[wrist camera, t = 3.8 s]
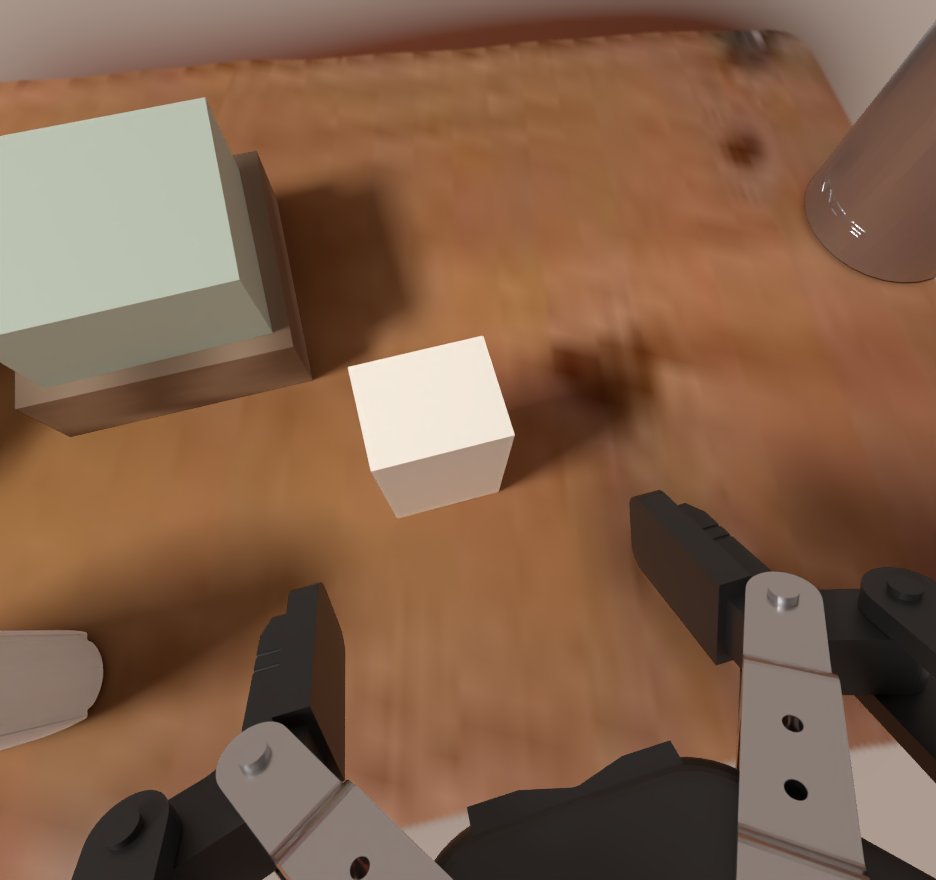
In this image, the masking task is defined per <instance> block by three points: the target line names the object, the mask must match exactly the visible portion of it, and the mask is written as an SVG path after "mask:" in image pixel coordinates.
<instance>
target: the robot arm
mask: <svg viewBox="0 0 936 880" xmlns="http://www.w3.org/2000/svg"><path fill="white" fill-rule="evenodd" d="M805 210H806V215H807V219H808V221H809V224H810V226H811V228H812V230H813V232H814V234H815V235H816V236H817V238H818V239H819V240H820V242H821V243H822V244H823V246H824V247H825V248H827V249H828V250H829V251H830V252H831V253H832V254H833V255H834V256H835V257H836V258H838V259H839V260H841V261H842V262H844V263H845V264H847V265H848V266H849V267H851V268H853V269H855V270H858V271H860V272H862V273H864V274H866V275H869V276H872V277H876V278H879V279H882V280H887V281H895V282H919V281H923V280H927V279H931V278H934V277H936V21H935V22H934V23H933V25H932V26H931V27H930V28H929V30H928V31H927V32H926V34H925V35H924V36H923V37H922V39H921V40H920V41H919V42H918V44H917V45H916V46H915V48H914V49H913V50H912V51H911V53H910V54H909V55H908V57H907V58H906V59H905V60H904V62H903V63H902V64H901V65H900V67H899V68H898V69H897V71H896V72H895V73H894V74H893V76H892V77H891V78H890V80H889V81H888V82H887V83H886V85H885V86H884V87H883V88H882V90H881V91H880V92H879V94H878V95H877V96H876V97H875V99H874V100H873V101H872V103H871V104H870V105H869V106H868V108H867V109H866V110H865V112H864V113H863V114H862V115H861V117H860V118H859V119H858V120H857V122H856V123H855V124H854V125H853V127H852V128H851V129H850V131H849V132H848V133H847V134H846V136H845V137H844V138H843V140H842V141H841V142H840V143H839V145H838V146H837V147H836V149H835V150H834V151H833V152H832V154H831V155H830V156H829V158H828V159H827V160H826V162H825V163H824V164H823V165H822V167H821V168H820V169H819V171H818V172H817V173H816V175H815V176H814V177H813V178H812V180H811V181H810V183H809V185H808V188H807V191H806V194H805ZM630 523H631V542H632V550H633V553H634V557H635V559H636V561H637V563H638V565H639V567H640V568H641V570H642V571H643V572H644V574H645V575H646V576H647V578H648V579H649V580H650V581H651V583H652V584H653V585H654V586H655V588H656V589H657V590H658V592H659V593H660V594H661V595H662V597H663V598H664V599H665V601H666V602H667V603H668V604H669V606H670V607H671V608H672V610H673V611H674V612H675V613H676V615H677V616H678V617H679V618H680V620H681V621H682V622H683V624H684V625H685V626H686V627H687V629H688V630H689V631H690V633H691V634H692V635H693V636H694V638H695V639H696V640H697V641H698V643H699V644H700V645H701V647H702V648H703V649H704V650H705V652H706V653H707V654H708V656H709V657H710V658H711V659H712V661H713V662H714V663H715V665H719V664H722V663H725V662H728V661H731V660H734V661H735V662H736V664H737V665H738V666H739V667H740V678H739V702H738V726H737V749H736V768H733V767H731V766H729V765H726V764H723V763H720V762H716V761H713V760H708V759H703V758H694V757H679V755H678V753H677V751H676V750H675V748H674V746H673V745H672V743H671V741H667V742H664V743H661V744H658V745H655V746H652V747H649V748H646V749H643V750H640V751H636V752H633V753H630V754H627V755H624V756H622V757H620V758H619V759H617V760H616V761H614V762H613V763H611V764H610V765H608V766H607V767H605V768H604V769H603V770H601V771H600V772H598V773H597V774H595V775H594V776H592V777H591V778H589V779H588V780H586V781H585V782H584V783H582V784H581V785H579V786H576V787H573V788H556V789H535V790H518V791H515V792H512V793H509V794H506V795H503V796H500V797H497V798H493V799H490V800H487V801H484V802H481V803H478V804H475V805H472V806H469V807H467V810H468V815H469V820H470V826H469V827H468V828H466V829H465V830H463V831H462V832H461V833H459V834H458V835H457V836H456V837H455V838H454V839H453V840H451V842H449V844H448V845H447V846H446V847H445V848H444V849H443V850H442V851H441V852H440V854H439V855H438V856H437V858H436V859H435V861H433V860H432V859H431V858H430V857H429V856H428V855H427V854H426V853H425V852H424V851H423V850H422V849H421V848H420V847H419V846H418V845H417V844H416V843H415V842H414V841H413V840H412V839H411V838H410V837H409V836H408V835H407V834H406V833H405V832H404V831H403V830H402V829H401V828H399V827H398V826H397V825H396V824H395V823H394V822H393V821H392V820H391V819H390V818H389V817H388V816H387V815H386V814H385V813H384V812H383V811H382V810H381V809H380V808H379V807H378V806H377V805H376V804H375V803H374V802H373V801H372V800H371V799H370V798H369V797H368V796H367V795H366V794H365V793H363V792H362V791H361V790H360V789H359V788H358V787H357V786H356V785H355V784H354V783H352V782H351V781H349V780H346V781H345V646H344V640H343V635H342V631H341V628H340V625H339V623H338V620H337V617H336V615H335V612H334V610H333V607H332V605H331V602H330V599H329V597H328V594H327V592H326V589H325V587H324V585H323V583H321V582H320V583H316V584H313V585H309V586H305V587H302V588H298V589H294V590H291V591H290V593H289V598H288V605H287V612H286V614H284V615H280V616H277V617H273V618H272V619H271V620H270V622H269V624H268V625H267V627H266V628H265V630H264V631H263V633H262V634H261V636H260V640H259V646H258V651H257V658H256V661H255V666H254V674H253V676H252V681H251V686H250V692H249V697H248V702H247V707H246V712H245V717H244V722H243V727H242V732H241V733H240V734H239V735H238V736H237V737H235V738H234V739H233V740H232V741H231V742H230V744H229V745H228V746H227V747H226V749H225V750H224V752H223V753H222V755H221V757H220V759H219V762H218V764H217V768H216V770H215V771H214V772H212V773H211V774H210V775H208V776H207V777H205V778H204V779H202V780H201V781H199V782H197V783H196V784H194V785H192V786H191V787H189V788H187V789H186V790H184V791H182V792H181V793H179V794H177V795H176V796H174V797H173V798H171V799H169V800H168V799H167V798H166V796H165V795H164V794H162V793H161V792H159V791H156V790H146V791H142V792H138V793H135V794H133V795H131V796H129V797H127V798H125V799H124V800H122V801H121V802H119V803H118V804H116V805H115V806H114V807H113V808H111V809H110V810H109V811H108V812H107V813H106V814H105V815H104V816H103V817H102V818H101V819H100V820H99V822H98V823H97V824H96V825H95V827H94V828H93V829H92V831H91V832H90V834H89V836H88V838H87V839H86V841H85V844H84V846H83V849H82V851H81V854H80V857H79V860H78V863H77V866H76V868H75V871H74V874H73V877H72V880H262V879H264V878H265V877H267V876H268V875H270V874H271V873H272V872H275V873H276V875H277V876H278V878H279V879H280V880H936V879H935V878H933V877H932V876H930V875H928V874H926V873H924V872H923V871H921V870H919V869H917V868H915V867H914V866H912V865H910V864H908V863H906V862H905V861H903V860H901V859H899V858H897V857H896V856H894V855H892V854H890V853H888V852H887V851H885V850H883V849H881V848H879V847H878V846H876V845H874V844H872V843H871V842H868V841H867V840H865V839H863V838H861V835H860V827H859V820H858V813H857V804H856V797H855V789H854V782H853V774H852V767H851V760H850V752H849V745H848V737H847V730H846V722H845V715H844V707H843V700H842V695H855V696H856V697H857V699H858V700H859V701H860V702H861V703H862V704H863V705H864V706H865V707H866V708H867V709H868V710H869V712H870V713H871V714H872V715H873V716H874V717H875V718H876V719H877V720H878V721H879V722H880V723H881V725H882V726H883V727H884V728H885V729H886V730H887V731H888V732H889V733H890V734H891V735H892V736H893V737H894V739H895V740H896V741H897V742H898V743H899V744H900V745H901V746H902V747H903V748H904V749H905V750H906V752H907V753H908V754H909V755H910V756H911V757H912V758H913V759H914V760H915V761H916V762H917V763H918V765H920V767H921V768H922V769H923V770H924V771H925V772H926V773H927V774H928V775H929V776H930V777H931V779H932V780H934V782H935V783H936V680H935V679H936V582H935V581H933V580H932V579H930V578H928V577H926V576H924V575H922V574H919V573H917V572H913V571H910V570H906V569H901V568H892V567H884V568H877V569H873V570H870V571H869V572H867V573H866V574H865V575H864V576H863V578H862V581H861V587H860V589H836V590H817V588H816V587H814V586H813V585H812V584H811V583H809V582H808V581H806V580H804V579H803V578H801V577H798V576H796V575H792V574H789V573H784V572H772V571H771V570H770V569H768V568H767V567H766V566H765V565H764V564H763V563H762V562H761V561H759V560H758V559H757V558H756V557H755V556H754V555H753V554H752V553H750V552H749V551H748V550H747V549H746V548H745V547H744V546H743V545H741V544H740V543H739V542H738V541H737V540H736V539H735V538H734V537H730V535H729V533H728V532H727V531H726V530H725V529H724V528H722V527H721V526H720V527H719V525H718V523H717V522H716V521H715V520H713V519H712V518H711V517H710V516H709V515H708V514H707V513H706V512H704V511H702V510H700V509H697V508H695V507H693V506H691V505H688V504H686V503H684V504H680V505H677V504H676V503H674V502H673V501H672V500H671V499H670V498H669V497H668V496H667V495H666V494H665V493H664V492H663V491H661V490H657V491H653V492H650V493H646V494H642V495H639V496H635V497H632V498H631V499H630ZM930 674H931V675H932V676H933V677H934V678H935V679H934V678H933V677H932V676H931V675H930ZM343 781H345V782H344V783H342V782H343Z"/></svg>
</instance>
